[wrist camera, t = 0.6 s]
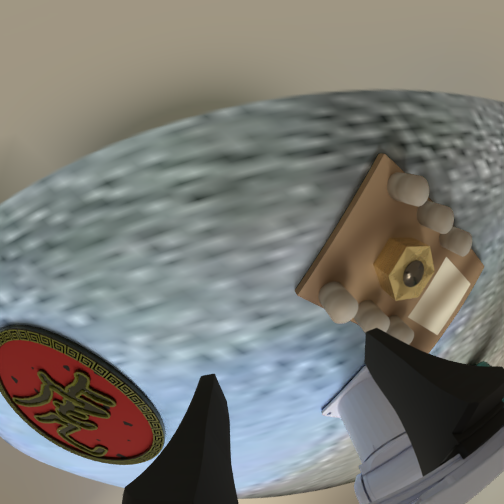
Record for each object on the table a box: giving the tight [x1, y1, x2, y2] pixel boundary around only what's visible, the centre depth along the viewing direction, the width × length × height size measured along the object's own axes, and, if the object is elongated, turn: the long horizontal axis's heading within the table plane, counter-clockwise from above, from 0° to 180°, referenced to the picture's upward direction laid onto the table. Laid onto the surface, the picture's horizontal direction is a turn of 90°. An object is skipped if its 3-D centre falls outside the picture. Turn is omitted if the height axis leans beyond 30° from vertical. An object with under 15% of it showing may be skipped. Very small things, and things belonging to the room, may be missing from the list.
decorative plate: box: [0, 325, 165, 465], centre depth 23 cm, size 25×1×25 cm
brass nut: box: [373, 238, 435, 301], centre depth 20 cm, size 5×4×2 cm
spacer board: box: [295, 153, 484, 353], centre depth 21 cm, size 20×13×3 cm, turn 59°
